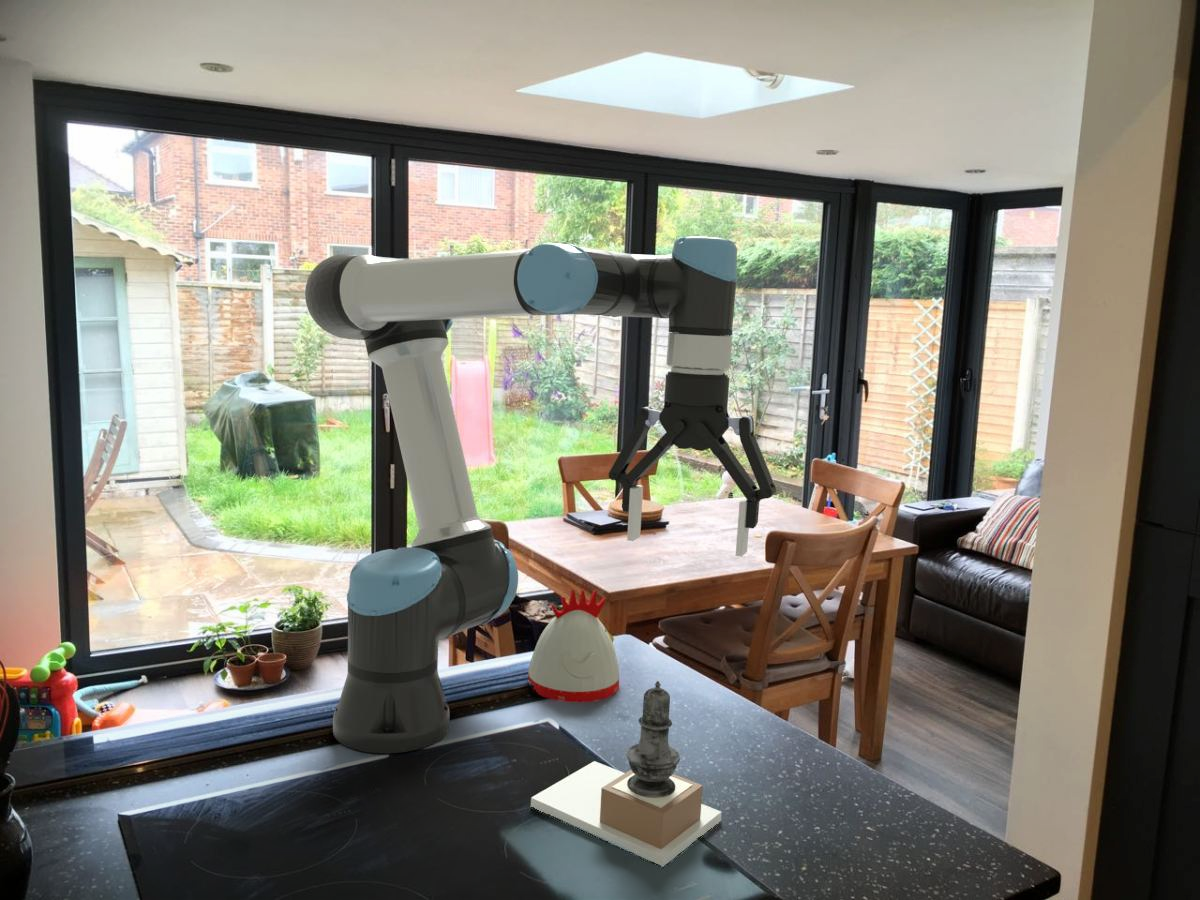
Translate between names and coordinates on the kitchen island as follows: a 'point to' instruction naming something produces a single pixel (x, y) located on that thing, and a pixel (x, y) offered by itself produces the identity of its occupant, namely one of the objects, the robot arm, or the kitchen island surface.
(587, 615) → the kitchen timer
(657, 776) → the salt shaker
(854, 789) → the kitchen island surface
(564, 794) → the build board
